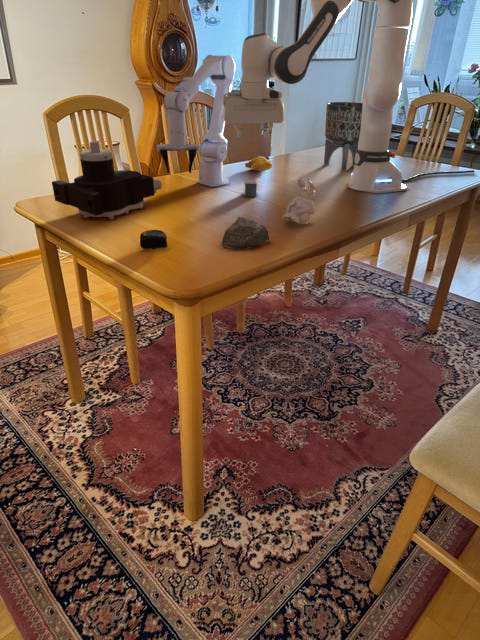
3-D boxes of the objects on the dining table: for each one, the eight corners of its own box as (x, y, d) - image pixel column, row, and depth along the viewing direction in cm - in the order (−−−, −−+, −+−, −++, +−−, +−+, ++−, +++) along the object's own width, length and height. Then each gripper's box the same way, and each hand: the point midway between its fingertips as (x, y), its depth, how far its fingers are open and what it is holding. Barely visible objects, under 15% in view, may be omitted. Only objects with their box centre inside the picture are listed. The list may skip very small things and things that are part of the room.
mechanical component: (44, 141, 131) (128, 131, 151) (57, 212, 142) (134, 194, 162) (86, 151, 119) (172, 139, 139) (97, 228, 130) (175, 206, 150)
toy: (243, 164, 194) (247, 156, 207) (248, 178, 197) (252, 170, 210) (268, 155, 191) (270, 148, 204) (272, 170, 194) (275, 162, 206)
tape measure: (140, 252, 115) (139, 238, 113) (141, 242, 120) (140, 229, 119) (167, 251, 116) (166, 237, 114) (167, 241, 121) (166, 228, 120)
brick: (244, 196, 163) (245, 183, 160) (243, 193, 166) (243, 180, 164) (256, 196, 163) (256, 183, 161) (254, 193, 167) (255, 180, 164)
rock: (255, 233, 128) (256, 211, 124) (276, 242, 122) (278, 219, 119) (217, 244, 120) (217, 220, 117) (239, 254, 115) (239, 230, 111)
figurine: (321, 218, 142) (325, 177, 135) (298, 231, 131) (302, 187, 125) (298, 213, 146) (301, 173, 139) (274, 225, 135) (277, 182, 128)
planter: (313, 167, 208) (319, 103, 195) (331, 160, 222) (338, 101, 209) (353, 173, 199) (362, 107, 185) (369, 166, 213) (379, 104, 199)
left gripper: (155, 133, 150) (158, 175, 156) (199, 132, 152) (200, 174, 158) (155, 129, 156) (158, 170, 162) (197, 129, 158) (198, 170, 164)
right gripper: (223, 92, 143) (224, 139, 150) (286, 93, 146) (283, 138, 153) (221, 91, 149) (221, 136, 156) (282, 91, 152) (279, 135, 159)
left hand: (179, 172), depth 161 cm, fingers open, 7 cm apart
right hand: (253, 137), depth 155 cm, fingers open, 8 cm apart
